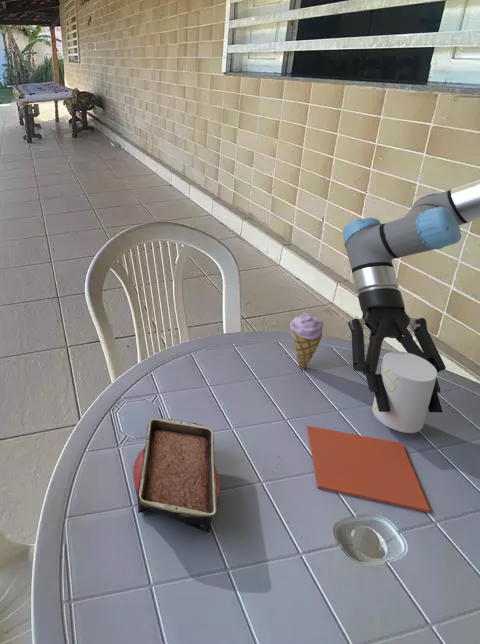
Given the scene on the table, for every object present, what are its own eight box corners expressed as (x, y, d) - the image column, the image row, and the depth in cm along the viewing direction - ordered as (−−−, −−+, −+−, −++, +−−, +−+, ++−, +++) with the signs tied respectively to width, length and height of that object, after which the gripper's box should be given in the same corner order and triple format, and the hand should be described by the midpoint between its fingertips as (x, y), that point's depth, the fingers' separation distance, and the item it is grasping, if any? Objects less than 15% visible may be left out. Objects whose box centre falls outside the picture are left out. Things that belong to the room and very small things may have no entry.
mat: (401, 445, 78) (402, 443, 78) (429, 513, 67) (430, 510, 67) (306, 427, 83) (307, 425, 83) (317, 488, 72) (317, 485, 71)
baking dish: (222, 469, 78) (221, 421, 76) (218, 561, 62) (216, 503, 60) (146, 456, 83) (142, 411, 81) (123, 539, 66) (118, 484, 64)
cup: (372, 394, 87) (382, 346, 83) (421, 408, 83) (434, 358, 79) (372, 423, 81) (383, 372, 76) (425, 439, 77) (440, 387, 72)
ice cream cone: (286, 373, 97) (293, 318, 92) (284, 356, 103) (290, 303, 98) (318, 378, 95) (327, 322, 90) (314, 360, 101) (322, 306, 95)
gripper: (421, 295, 89) (457, 412, 80) (318, 296, 91) (341, 411, 82) (444, 285, 82) (486, 412, 73) (332, 287, 85) (359, 411, 75)
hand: (410, 411), depth 78 cm, fingers closed on cup, 8 cm apart
